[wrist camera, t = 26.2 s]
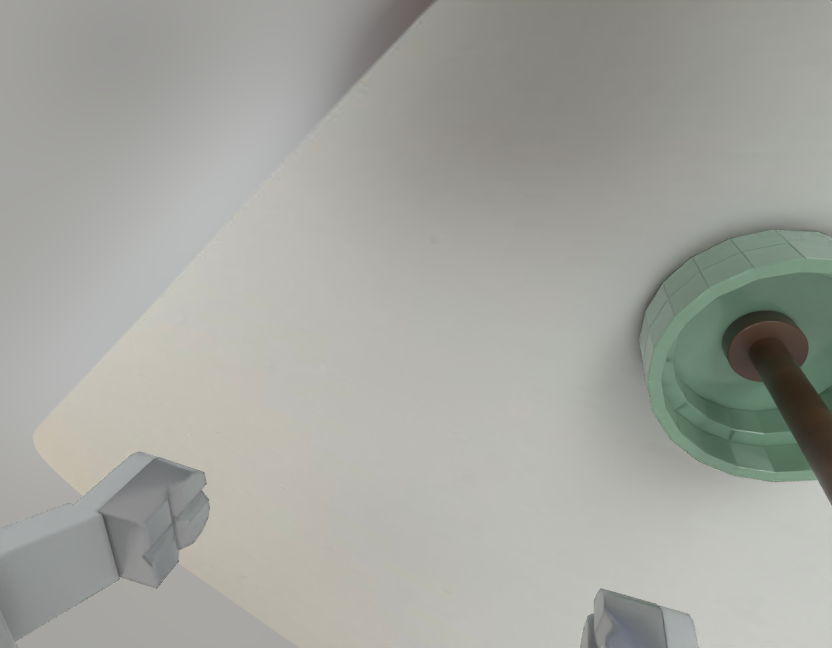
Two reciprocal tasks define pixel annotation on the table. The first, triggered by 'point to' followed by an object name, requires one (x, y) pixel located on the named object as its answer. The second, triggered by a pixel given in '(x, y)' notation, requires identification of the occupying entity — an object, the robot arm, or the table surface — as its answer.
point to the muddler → (784, 382)
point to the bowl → (707, 364)
